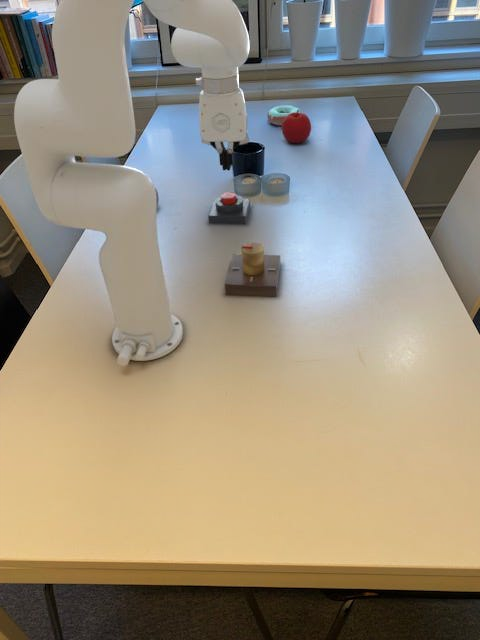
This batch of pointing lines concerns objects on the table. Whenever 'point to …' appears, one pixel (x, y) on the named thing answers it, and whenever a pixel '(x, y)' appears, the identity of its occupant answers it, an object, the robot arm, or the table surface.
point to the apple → (296, 127)
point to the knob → (253, 258)
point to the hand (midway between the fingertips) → (227, 167)
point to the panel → (253, 278)
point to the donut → (280, 114)
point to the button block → (229, 212)
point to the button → (228, 198)
